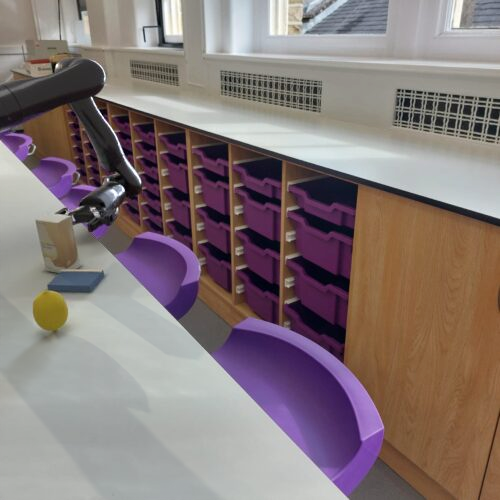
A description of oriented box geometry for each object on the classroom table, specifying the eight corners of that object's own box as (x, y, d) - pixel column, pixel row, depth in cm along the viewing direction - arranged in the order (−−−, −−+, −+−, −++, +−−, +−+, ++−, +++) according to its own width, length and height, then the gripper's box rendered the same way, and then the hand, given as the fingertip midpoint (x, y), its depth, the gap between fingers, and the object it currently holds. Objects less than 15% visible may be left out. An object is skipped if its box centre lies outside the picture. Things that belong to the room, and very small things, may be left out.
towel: (48, 291, 98) (46, 283, 98) (64, 275, 105) (62, 267, 104) (90, 292, 97) (89, 284, 96) (104, 275, 103) (103, 268, 103)
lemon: (71, 336, 83) (62, 295, 80) (37, 342, 82) (26, 301, 79) (72, 319, 88) (63, 280, 85) (40, 325, 87) (29, 286, 84)
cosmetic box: (45, 271, 107) (32, 219, 101) (58, 263, 110) (47, 212, 105) (69, 275, 104) (57, 222, 99) (82, 266, 108) (71, 214, 103)
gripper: (71, 190, 124) (38, 212, 110) (124, 190, 122) (98, 212, 108) (76, 217, 127) (45, 243, 113) (128, 218, 126) (104, 243, 111)
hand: (71, 228), depth 110 cm, fingers open, 8 cm apart
